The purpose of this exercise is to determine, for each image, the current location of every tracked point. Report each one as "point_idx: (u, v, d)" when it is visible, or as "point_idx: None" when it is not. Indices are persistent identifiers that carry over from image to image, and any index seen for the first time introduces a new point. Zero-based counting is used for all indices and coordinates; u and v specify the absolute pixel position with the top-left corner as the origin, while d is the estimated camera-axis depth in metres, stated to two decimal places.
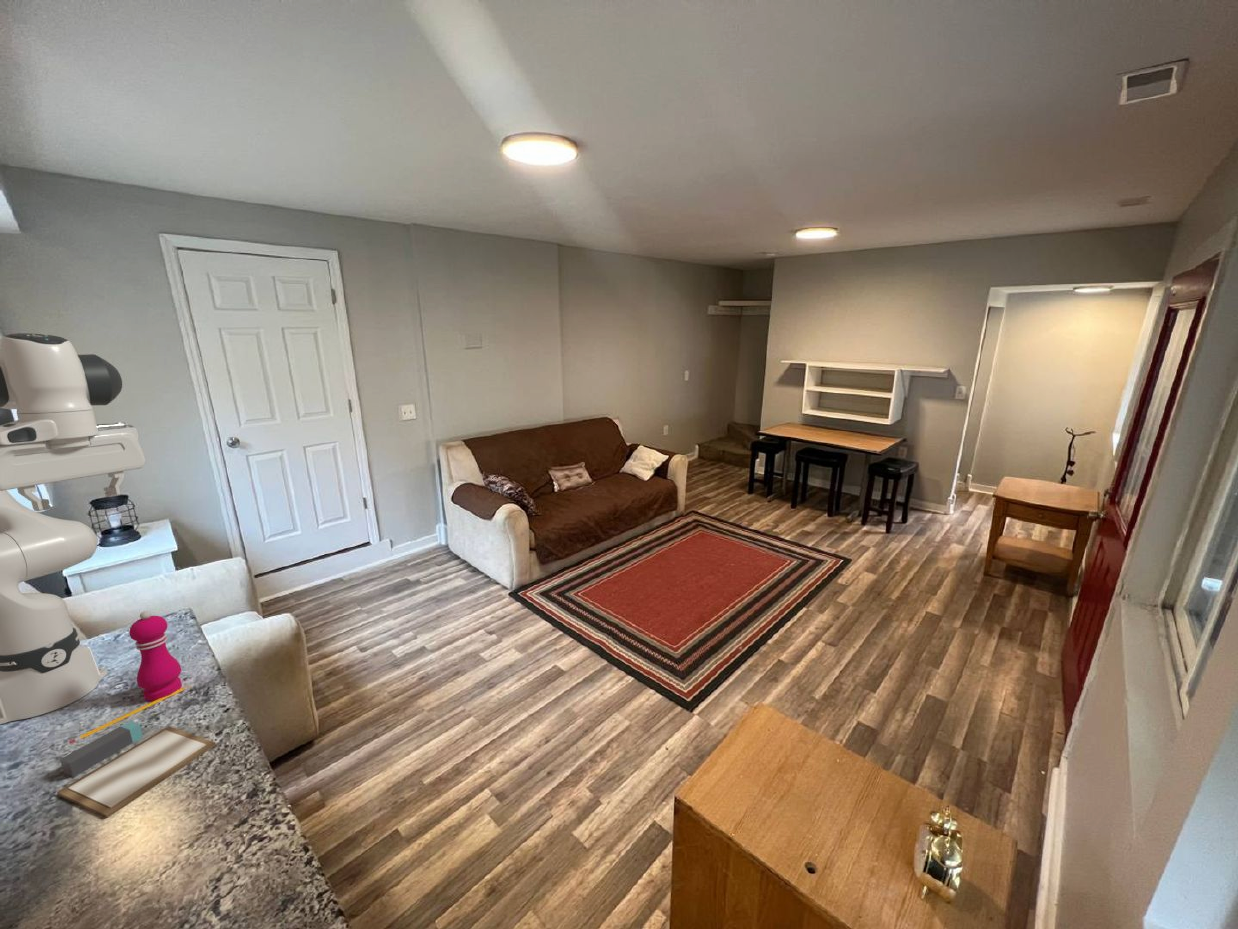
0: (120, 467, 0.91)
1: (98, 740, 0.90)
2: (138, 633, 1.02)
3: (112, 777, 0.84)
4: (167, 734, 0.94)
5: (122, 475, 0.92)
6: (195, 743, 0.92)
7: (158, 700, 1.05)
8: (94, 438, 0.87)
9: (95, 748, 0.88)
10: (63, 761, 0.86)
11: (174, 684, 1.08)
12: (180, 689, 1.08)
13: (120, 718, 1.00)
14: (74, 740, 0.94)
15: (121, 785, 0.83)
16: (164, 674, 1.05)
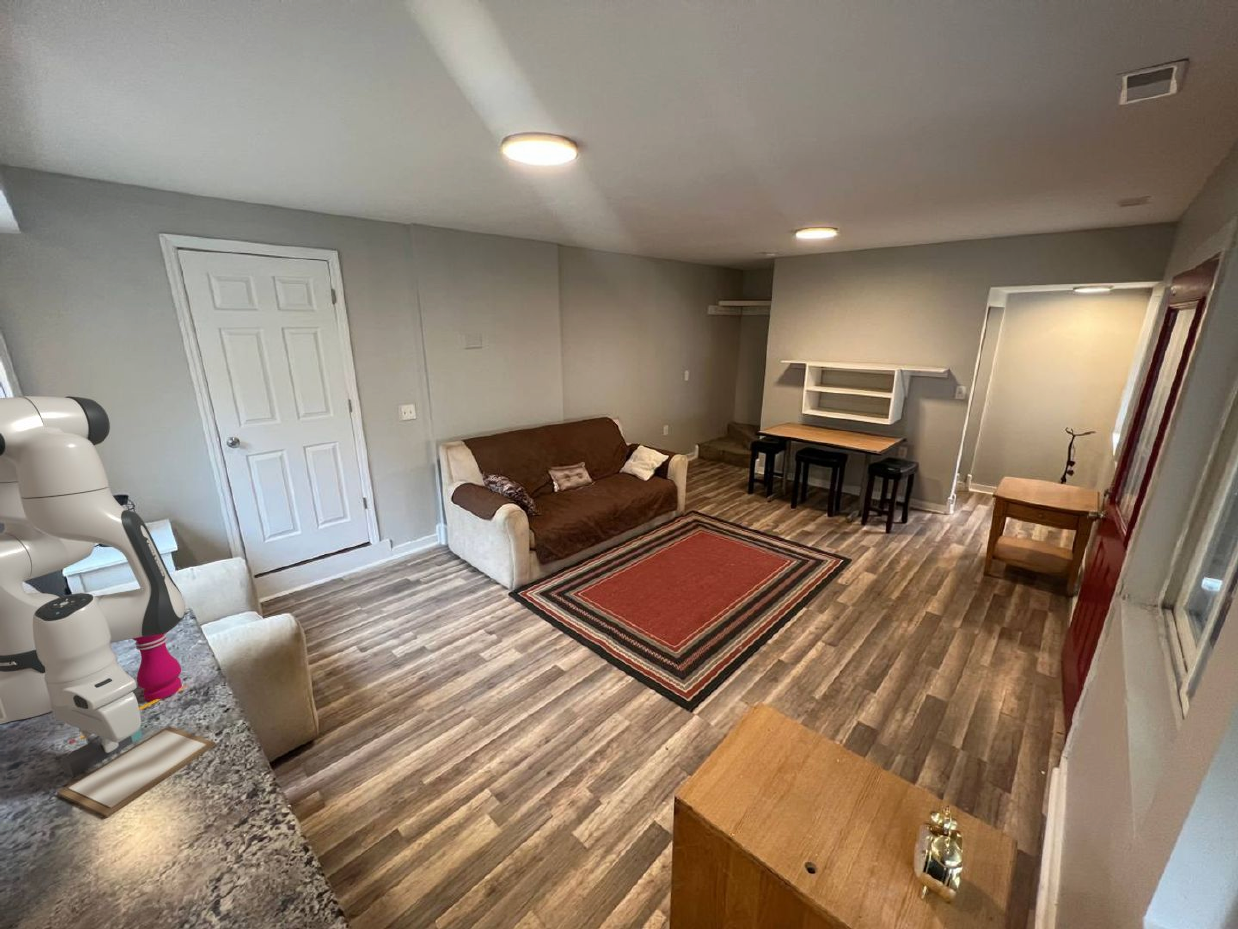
0: None
1: (98, 740, 0.90)
2: None
3: (112, 777, 0.84)
4: (167, 734, 0.94)
5: None
6: (195, 743, 0.92)
7: (157, 699, 1.05)
8: None
9: (95, 748, 0.88)
10: (63, 761, 0.86)
11: (174, 684, 1.08)
12: None
13: None
14: (74, 740, 0.94)
15: (121, 785, 0.83)
16: (163, 674, 1.05)
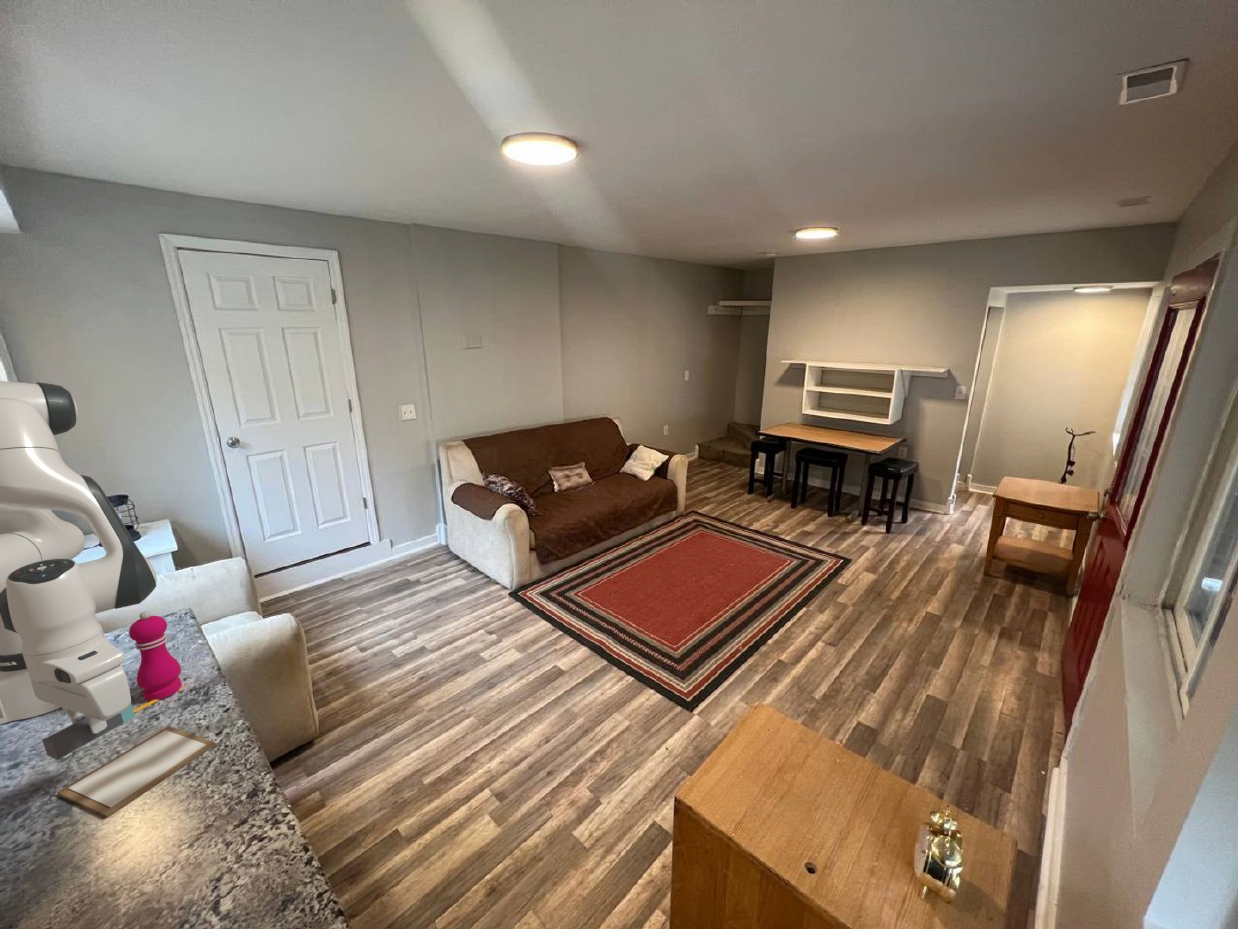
0: None
1: (85, 720, 0.82)
2: (138, 633, 1.02)
3: (112, 777, 0.84)
4: (167, 734, 0.94)
5: None
6: (195, 743, 0.92)
7: None
8: None
9: (81, 728, 0.80)
10: (46, 742, 0.78)
11: (174, 684, 1.08)
12: None
13: None
14: None
15: (121, 785, 0.83)
16: (163, 674, 1.05)
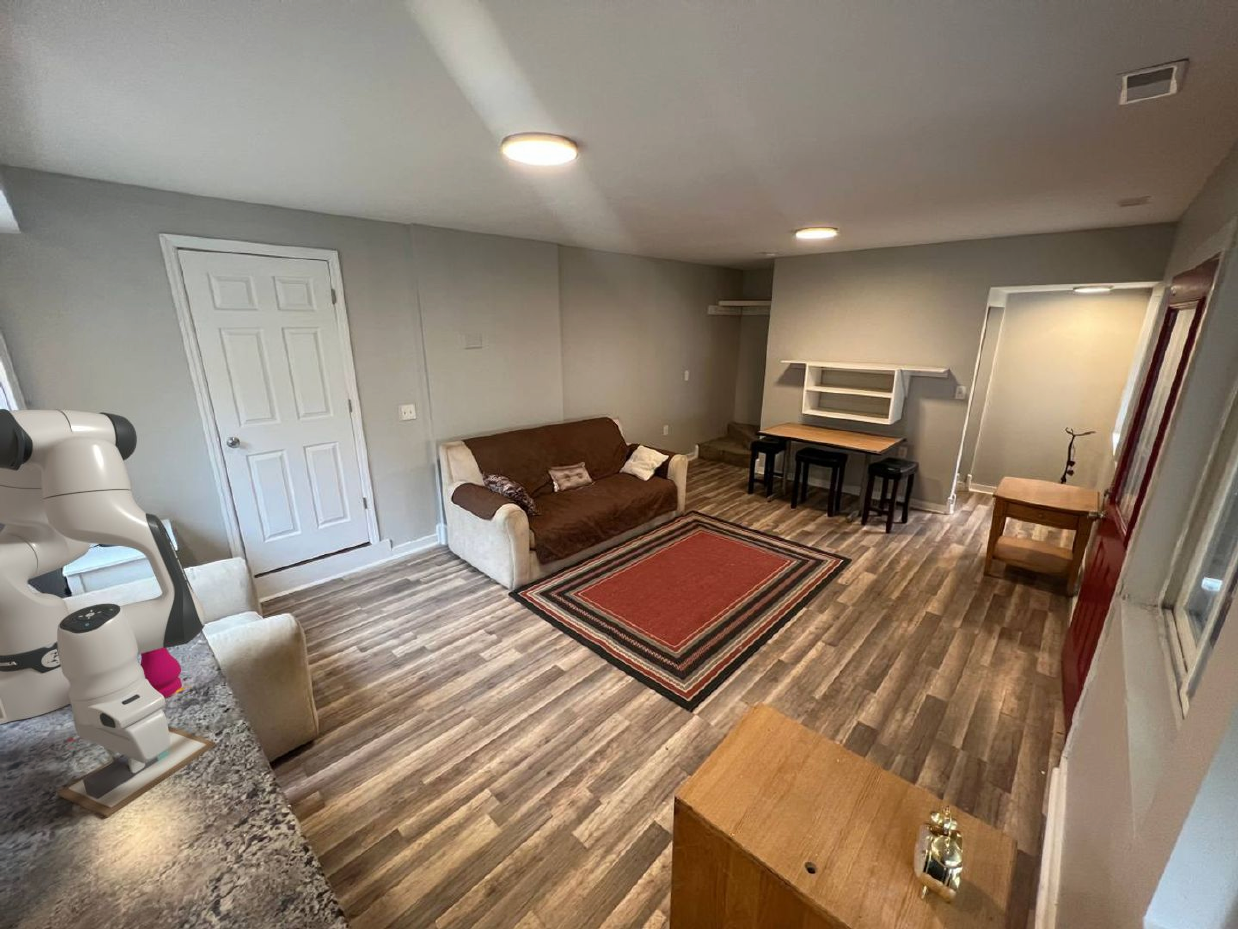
0: None
1: (122, 758, 0.85)
2: None
3: None
4: None
5: None
6: (195, 743, 0.92)
7: None
8: None
9: (119, 767, 0.83)
10: (86, 782, 0.80)
11: (174, 684, 1.08)
12: (179, 689, 1.08)
13: None
14: (72, 739, 0.94)
15: (121, 785, 0.83)
16: (163, 674, 1.05)
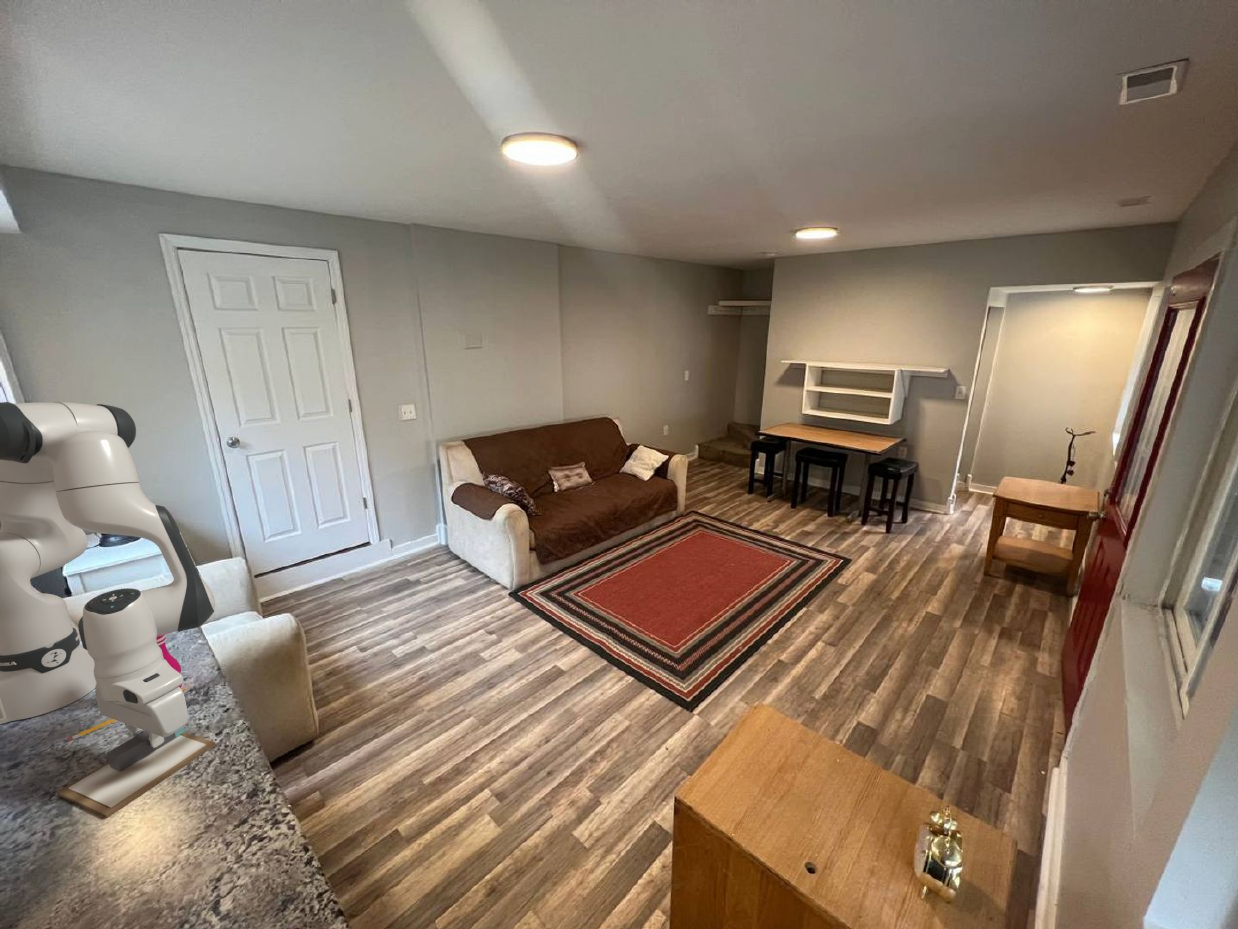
0: None
1: (142, 734, 0.90)
2: None
3: (112, 777, 0.84)
4: None
5: None
6: (195, 743, 0.92)
7: None
8: None
9: (140, 742, 0.88)
10: (110, 755, 0.85)
11: None
12: None
13: None
14: (72, 738, 0.94)
15: (121, 785, 0.83)
16: None
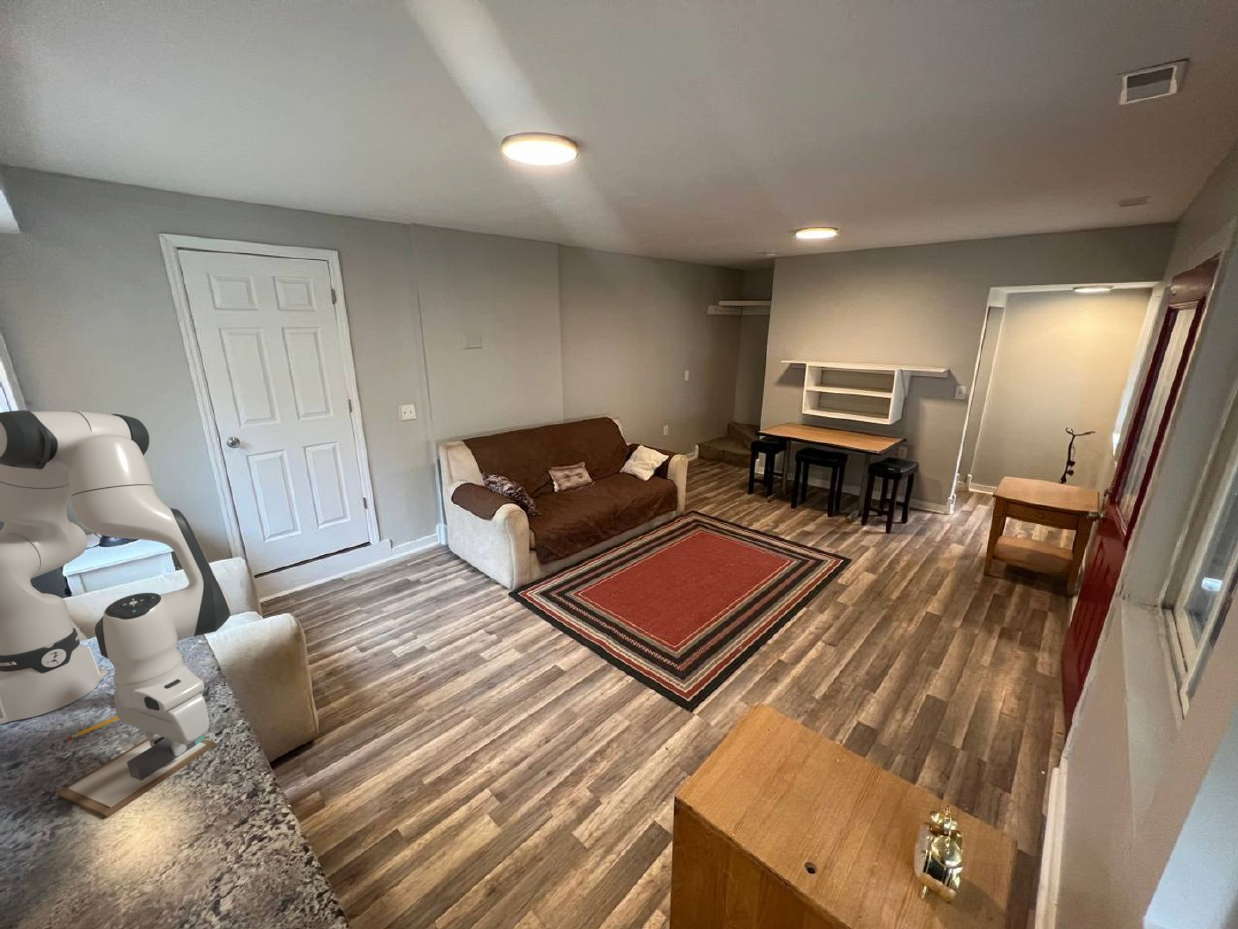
0: None
1: (163, 742, 0.88)
2: None
3: (112, 777, 0.84)
4: None
5: None
6: None
7: None
8: None
9: (161, 750, 0.86)
10: (130, 764, 0.84)
11: None
12: None
13: None
14: (71, 737, 0.95)
15: (121, 785, 0.83)
16: None
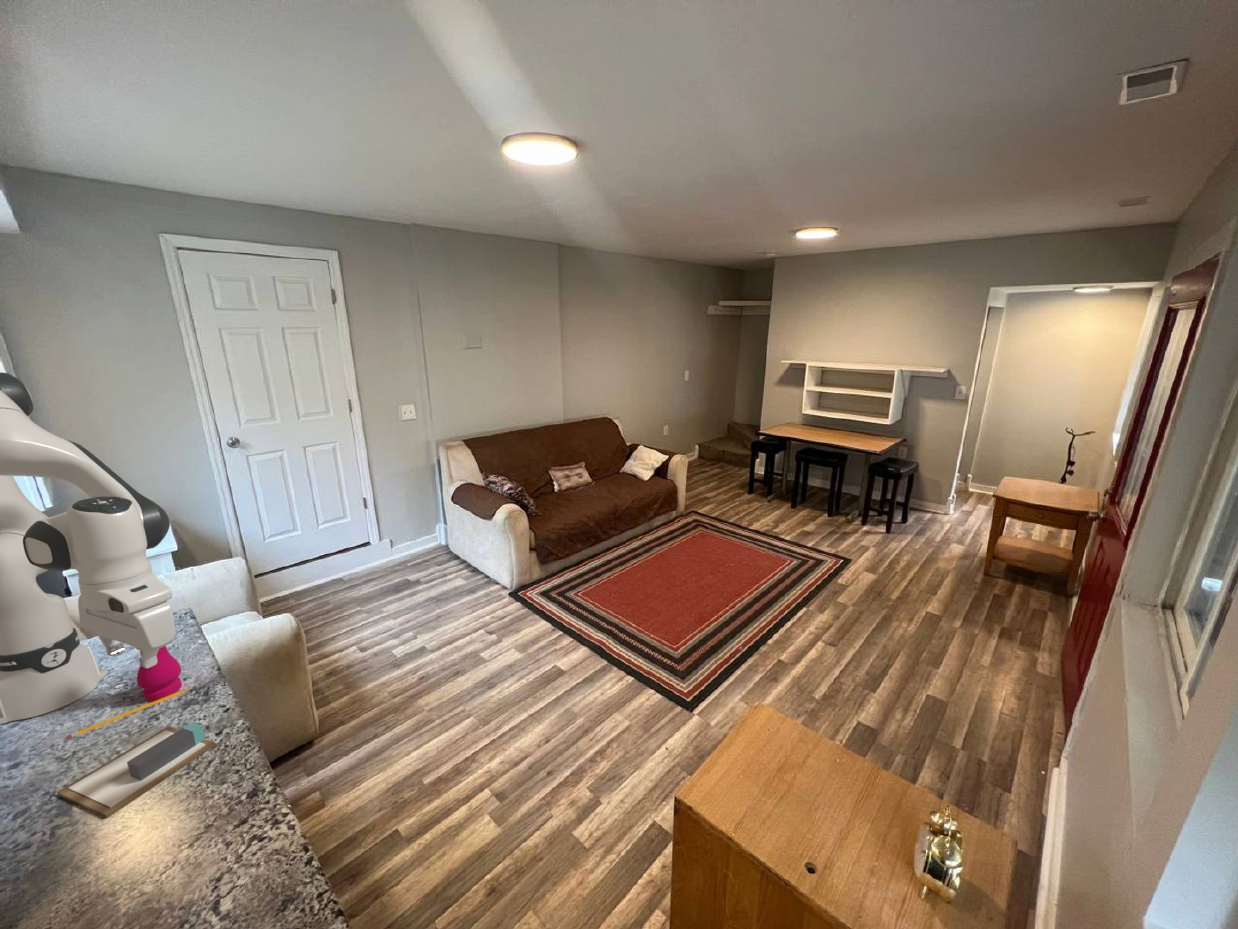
0: None
1: (163, 742, 0.88)
2: None
3: (112, 777, 0.84)
4: (167, 734, 0.94)
5: None
6: None
7: (158, 701, 1.05)
8: None
9: (161, 750, 0.86)
10: (130, 764, 0.84)
11: (174, 684, 1.08)
12: (181, 691, 1.08)
13: (118, 717, 1.00)
14: (70, 736, 0.95)
15: (121, 785, 0.83)
16: (163, 674, 1.05)
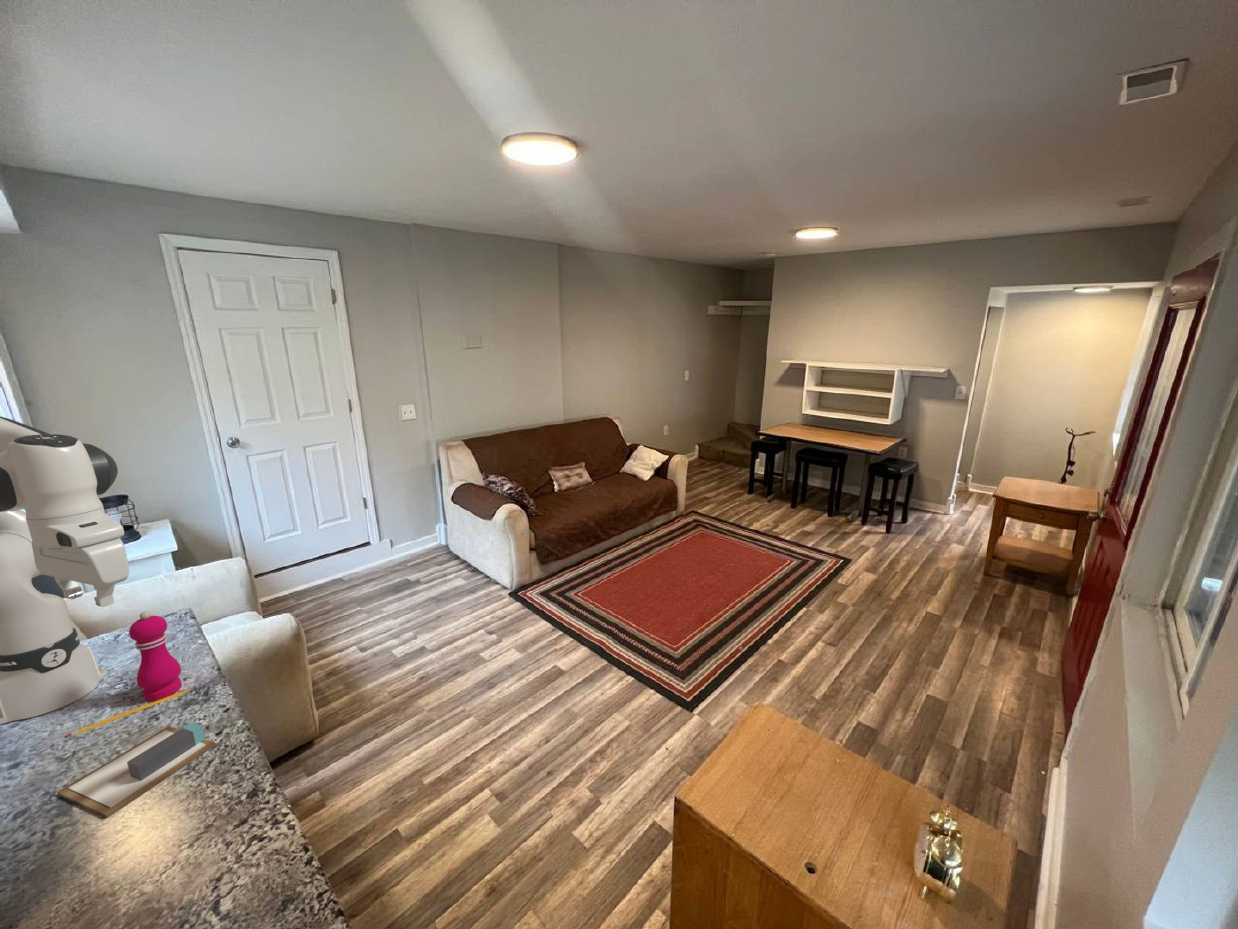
0: None
1: (163, 742, 0.88)
2: (138, 633, 1.02)
3: (112, 777, 0.84)
4: (167, 734, 0.94)
5: None
6: None
7: (158, 701, 1.04)
8: None
9: (161, 750, 0.86)
10: (130, 764, 0.84)
11: (174, 684, 1.08)
12: (181, 692, 1.07)
13: (118, 716, 1.00)
14: (70, 734, 0.95)
15: (121, 785, 0.83)
16: (163, 674, 1.05)
